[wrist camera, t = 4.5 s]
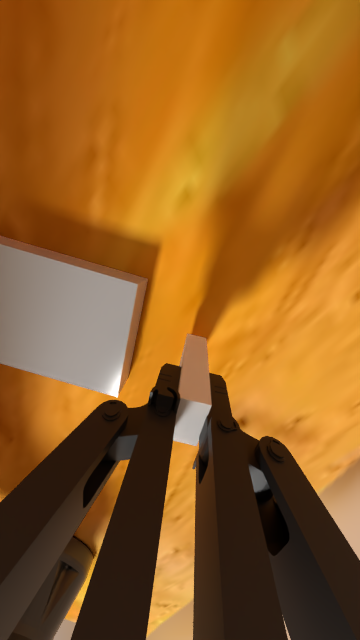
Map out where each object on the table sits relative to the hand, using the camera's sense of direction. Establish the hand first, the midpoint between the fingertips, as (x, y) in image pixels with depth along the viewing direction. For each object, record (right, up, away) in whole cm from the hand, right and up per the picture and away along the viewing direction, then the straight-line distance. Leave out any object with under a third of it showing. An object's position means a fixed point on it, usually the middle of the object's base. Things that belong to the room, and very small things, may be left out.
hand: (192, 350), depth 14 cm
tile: (-13, +4, +2) cm, 14 cm away
